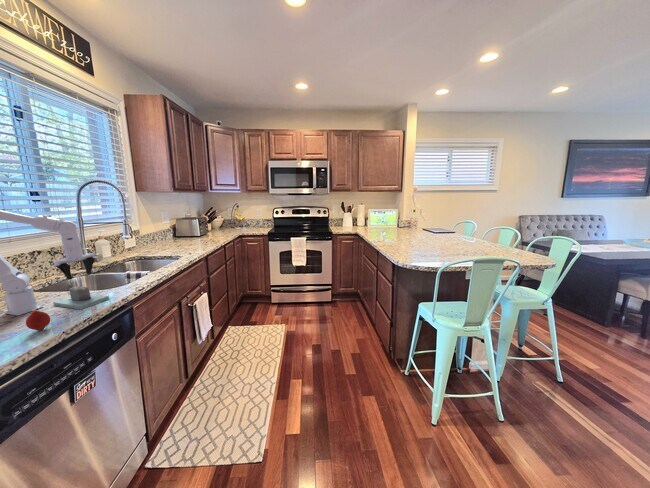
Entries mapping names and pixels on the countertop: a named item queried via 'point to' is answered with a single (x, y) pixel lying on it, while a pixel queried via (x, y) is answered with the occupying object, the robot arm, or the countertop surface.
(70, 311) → the countertop surface
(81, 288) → the connector
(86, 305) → the board
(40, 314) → the onion
